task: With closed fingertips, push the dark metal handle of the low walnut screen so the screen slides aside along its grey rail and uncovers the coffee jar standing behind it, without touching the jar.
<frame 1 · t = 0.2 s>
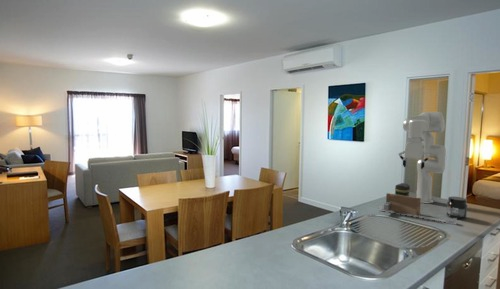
hand: (413, 167, 190), 31 cm above the countertop, fingers open, 9 cm apart
grey rail: (415, 216, 193), on the countertop
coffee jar: (401, 211, 204), on the countertop
walnut screen: (401, 205, 193), point 7 cm above the countertop, slide at 0.0 cm
supplement container: (456, 217, 192), on the countertop
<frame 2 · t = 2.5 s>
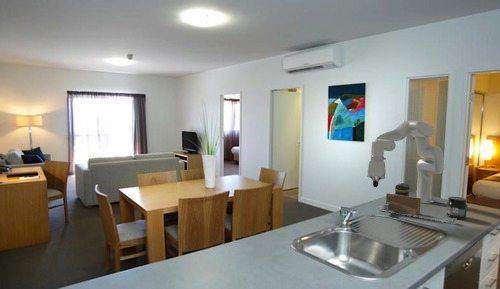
hand: (375, 186, 199), 17 cm above the countertop, fingers closed
nothing on the countertop moved.
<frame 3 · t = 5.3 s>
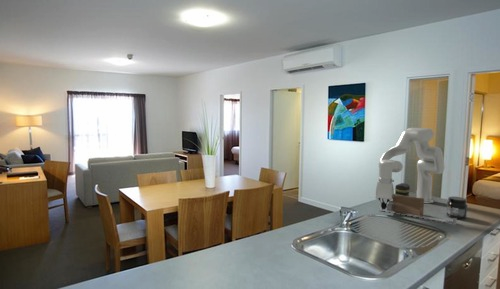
hand: (383, 208, 197), 4 cm above the countertop, fingers closed
walnut screen: (404, 206, 192), point 7 cm above the countertop, slide at 1.9 cm, touching gripper
everything else where it was.
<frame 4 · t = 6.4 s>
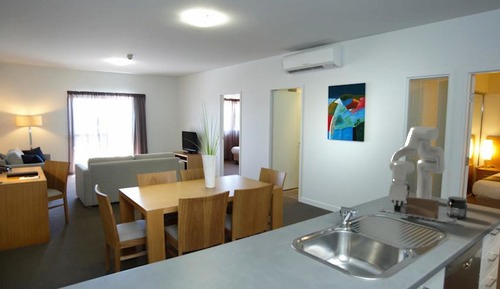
hand: (397, 211, 192), 4 cm above the countertop, fingers closed
walnut screen: (419, 208, 188), point 7 cm above the countertop, slide at 9.9 cm, touching gripper
everything else where it was.
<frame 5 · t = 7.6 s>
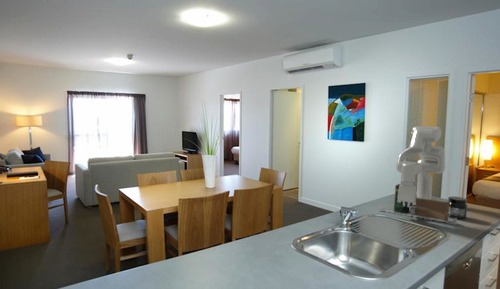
hand: (406, 212, 189), 4 cm above the countertop, fingers closed
walnut screen: (428, 209, 184), point 7 cm above the countertop, slide at 14.9 cm, touching gripper
everything else where it was.
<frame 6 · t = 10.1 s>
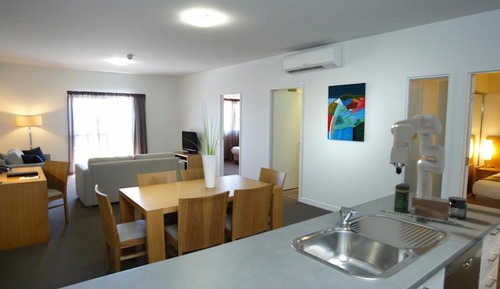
hand: (398, 173, 191), 27 cm above the countertop, fingers closed
walnut screen: (428, 210, 184), point 7 cm above the countertop, slide at 15.0 cm
everything else where it was.
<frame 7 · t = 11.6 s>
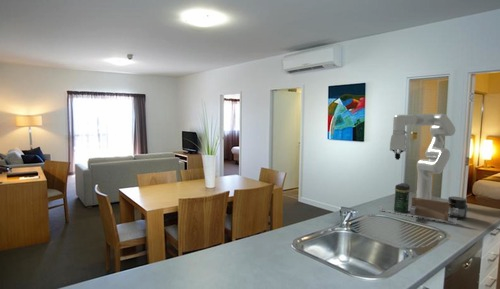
hand: (397, 159, 213), 33 cm above the countertop, fingers closed
nothing on the countertop moved.
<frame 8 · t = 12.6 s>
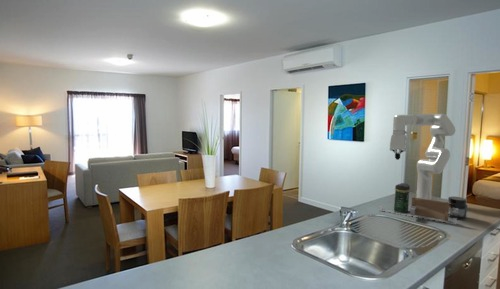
hand: (397, 159, 213), 33 cm above the countertop, fingers closed
nothing on the countertop moved.
at the end: walnut screen slide at 15.0 cm; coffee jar moved 0.2 cm from its start; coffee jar tilted 0° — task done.
